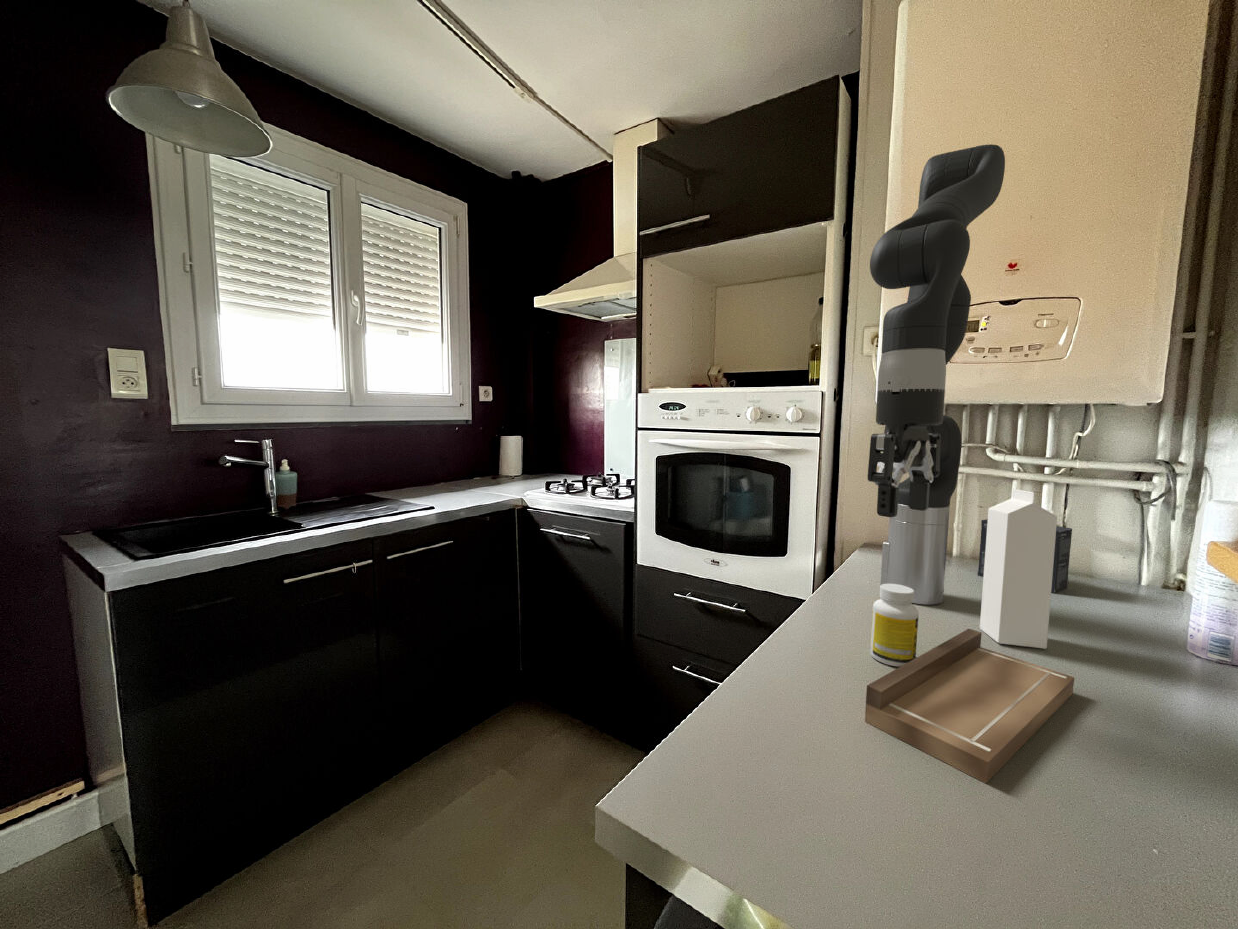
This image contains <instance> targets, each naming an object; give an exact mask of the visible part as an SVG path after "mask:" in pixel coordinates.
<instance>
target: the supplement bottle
mask: <svg viewBox="0 0 1238 929" xmlns="http://www.w3.org/2000/svg"><path fill="white" fill-rule="evenodd" d="M879 597H880V598H879V599H877V600H875V601H874V602H873V604H872V613H871V614H872V615H871V629H870V644H869V645H870V646H869V653H870V656H871V657H872V658H874V659H875V660H876V661H878V662H879V663H882V664H885V665H888V666H892V667H897V668H899V667H901V666H903V665H904V664H906V663H908V662H910V661H912V660H913V659H915V658H917V642H918V640H917V639H918V628H919V627H918V626H919V610H918V608H917V607H916V606H915V605H913V603H912V602H913V600H914V590H913V589H911V588H909V587H907V586H903V585H898V584H882V585H881V586H879Z"/></svg>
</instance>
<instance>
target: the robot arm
mask: <svg viewBox="0 0 1238 929" xmlns="http://www.w3.org/2000/svg"><path fill="white" fill-rule="evenodd" d="M1005 156H1006V155H1005V152H1004V150H1003V148H1002V146H1000V145H998V144H992V143H991V144H990V143H989V144H981V145H977V146H972V147H967V148H964V149H963V148H962V149H959V150H953V151H948V152H944V153H940V154H937V155H932V157H930V158H929V159H928V160H927V161H926V162H925V165H924V167H923V170H922V173H921V179H920V183H919V192H918V194H919V195H918V202H917V204H918V206H917V208H916V210H915V211H914V213H913V214H912V216H911V217H909V218H907V219H904V220H903V221H901V222H899V223H898V224H896V225H894V226H893V227H892V228H890V229H888V230H887V231H886V232H884V233H883V234H882V235H881V237H879V239H878V240H877V241H876V243H875V245H874V248H873V250H872V252H871V254H870V255H871V256H870V260H869V270H870V275H871V278H872V279H873V281H874V283H876V284H877V285H878V286H879V287H881V288H883V289H887V290H899V289H905V288H908V289H909V290H908V296H907V301H906V302H904V303H901V304H899V305H896V306H894V307H891V308H889V309H887V311H886V313H885V314H884V317H883V322H882V342H881V355H880V357H881V358H880V362H879V367H878V374H877V392H876V393H877V394H876V411H875V423H876V424H877V425H879V426H885V427H884V430H883V432H884V433H872V434H871V435H870V442H869V443H870V444H869V455H868V466H867V468H868V469H867V481H868V482H870V483H872V482H873V483H874V484H875V486H877V501H876V503H877V504H876V514H877V515H878V516H880V517H886V518H888V538H887V540H885V541H883V542H882V550H881V551H882V552H881V554H882V555H881V568H880V569H881V570H880V582H879V583H880V584H879V585H880V586H881V585H882V584H898V585H903V586H907V587H909V588H911V589H913V590H914V600H913V602H912V603H911V604H917V605H939V604H941V603H943V601H944V592H945V579H946V578H945V577H946V576H945V575H946V563H947V562H946V561H947V549H948V534H949V519H950V505H951V499H952V496H953V494H954V492H955V490H956V488H957V484H958V477H959V470H960V463H961V456H962V454H961V453H962V448H963V446H962V444H963V441H962V433H961V428H960V427H959V425H958V423H957V422H956V420H955V419H954V418H952V417H951V416H950V415H949V416H948V415H944V411H945V395H946V378H947V365H948V363H949V362H950V361H951V359H953V357H954V356H955V354H956V353H957V351H958V350H959V348H960V347H961V345H962V343H963V341H964V339H965V336H966V332H967V327H968V322H969V315H970V309H971V302H972V295H971V291H970V288H969V286H968V283H967V282H966V280H965V278H964V276H963V274H962V273H963V271H964V268H965V266H966V262H967V260H968V256H969V252H970V246H971V236H970V233H969V231H968V229H967V228H968V227H969V225H970V224H971V223H972V222H973V221H974V220H975V219H977V218H978V217H980V216H981V215H982V214H983V213H984V212H985V211H986V210H988V209H990V207H991V206H992V205H993V204H994V203H995V201H996V200H997V199H998V197H999V195H1000V192H1001V190H1002V186H1003V184H1004V183H1003V182H1004V178H1005V171H1006V169H1005V167H1006V157H1005ZM878 468H879V469H878ZM907 473H908V478H907V477H906V479H905V480H903V481H901V480H902V478H903V475H906V474H907ZM880 586H879V587H880Z"/></svg>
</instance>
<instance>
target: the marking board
mask: <svg viewBox="0 0 1238 929" xmlns="http://www.w3.org/2000/svg"><path fill="white" fill-rule="evenodd" d="M982 632H983V631H981V632H980V631H978V630H974V629H971V628H967V629H965V630H964V631H961V632H960V633H958V634H956V635H955V636H953V637H951V638H949V639H948V640H946V641H943V642H942V643H941V644H938V645H937V646H935V647H933V648H932V649H930V650H928V651H926V652H924V653H923V654H921V655H918V656H916V658H915V659H913V660H912V661H910V662H908V663H906V664H904V665H903V666H901V667H897V668H896V669H894V670H892V671H891V672H888V673H887V674H885V675H883V676H881V677H879V678H878V679H876V680H874V681H873V682H870V683H869V684H867V685H866V694H865V712H864V722H865V723H867V724H869V725H871V726H873V727H875V728H877V729H879V730H881V731H883V732H884V733H886V734H888V735H891V736H892V737H894V738H897V739H898V740H900V741H903V742H904V743H906V744H908V745H910V746H913V747H914V748H916V749H918V750H920V751H922V752H924V753H926V754H927V755H929V756H932V757H933V758H936V759H937V760H939V761H941V762H943V763H946V764H947V765H949V766H951V767H953V768H955V769H957V770H959V771H961V772H963V773H965V774H966V775H969V776H971V777H973V778H975V779H977V780H979V781H980V782H982V783H985V784H988V783H989V782H990V780H991V779H993V778H994V777H995V775H996V774H997V773H998V772H999V771H1000V770H1001V769H1002V768H1003V767H1004V766H1006V764H1007V763H1008V762H1009V761H1010V760H1011V759H1012V757H1013V756H1015V754H1016V753H1017V752H1019V750H1021V749H1022V747H1023V746H1024V745H1025V744H1026V743H1027V742H1028V741H1029V740H1030V739H1032V737H1033V736H1034V735H1035V734H1036V732H1037V731H1038V730H1039V729H1040V728H1041V727H1042V726H1043V725H1044V724H1046V723H1047V722H1048V720H1049V719H1050V718H1051V717H1052V716H1053V715H1054V713H1056V712H1057V710H1059V709H1060V707H1062V706H1063V704H1065V703H1066V702H1067V701H1068V699H1069V698H1070V697H1071V696H1072V695H1073V694H1074V687H1075V686H1074V685H1075V677H1074V676H1071V675H1068V674H1065V673H1062V672H1059V671H1056V670H1053V669H1050V668H1046V667H1044V666H1043V667H1042V666H1040V665H1037V664H1034V663H1032V662H1031V663H1030V662H1028V661H1025V660H1022V659H1019V658H1016V657H1014V656H1013V657H1012V656H1009V655H1006V654H1003V653H1000V652H998V651H994V650H991V649H989V648H985V647H982V646H981V644H982V634H983V633H982Z"/></svg>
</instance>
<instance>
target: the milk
mask: <svg viewBox="0 0 1238 929" xmlns="http://www.w3.org/2000/svg"><path fill="white" fill-rule="evenodd" d="M987 519H988V522H987V536H986V549H985V563H984V577H982V578H983V580H982V591H981V592H982V594H981V606H980V618H979V619H980V620H979V629H980V630H981V631H982V632H983V633H985V634H986V635H987V636H989V637H990V638H991V639H993V640H994V641H995V642H996V643H997V644H1002V645H1009V646H1010V645H1011V646H1017V647H1018V646H1019V647H1028V648H1036V649H1044V650H1045V649H1047V648H1048V636H1049V635H1048V634H1049V623H1050V609H1051V597H1052V596H1051V595H1052V592H1051V587H1052V575H1053V562H1054V550H1055V537H1056V526H1058V525H1057V523H1058V522H1057V521H1058V516H1057V515H1056V514H1054V513H1052V512H1050V511H1048V510H1046V509H1045V508H1043V507H1041V506H1040V505H1038V504H1036V503H1035V492H1034V491H1028V490H1023V489H1017V488H1012V489H1011V497H1010V498H1009V499H1007V500H1004V501H1002V502H1000V503H998V504H995V505H993V506H991V507H988V510H987Z"/></svg>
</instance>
